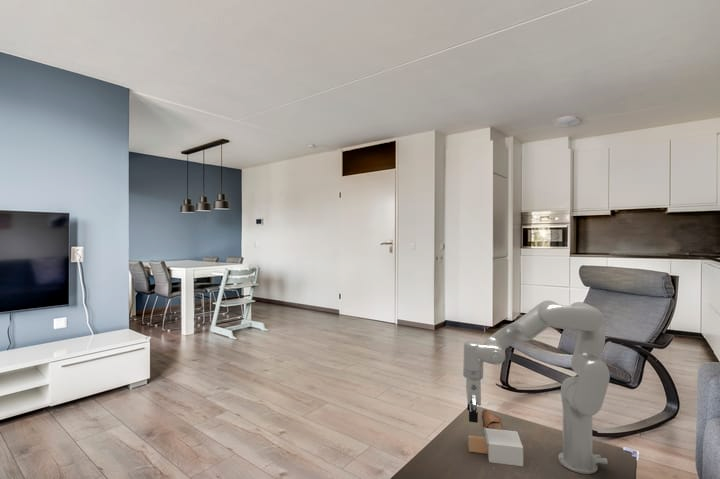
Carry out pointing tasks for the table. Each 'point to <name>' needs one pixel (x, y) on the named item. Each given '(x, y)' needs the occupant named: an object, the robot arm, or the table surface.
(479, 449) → the tan banded plank
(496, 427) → the sunglasses case
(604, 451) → the table surface
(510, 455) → the white box
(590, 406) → the robot arm
